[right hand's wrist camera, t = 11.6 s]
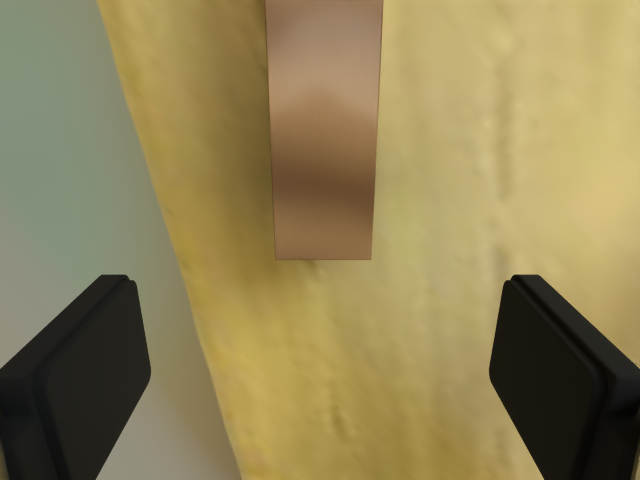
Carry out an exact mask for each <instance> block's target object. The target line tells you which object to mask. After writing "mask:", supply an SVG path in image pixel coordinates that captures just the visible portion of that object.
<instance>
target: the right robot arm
mask: <svg viewBox="0 0 640 480" xmlns="http://www.w3.org/2000/svg"><path fill="white" fill-rule="evenodd" d="M150 376H151V366H150V360H149V355H148V349H147V343H146V337H145V331H144V325H143V319H142V314H141V308H140V302H139V296H138V290H137V285H136V283H135V281H133V280H129V278H128V276H127V275H101V276H99V277H98V278H97V279H96V280H95V281H94V282H93V283H92V284H91V285H90V286H89V287H88V288H87V289H85V290H84V291H83V292H82V293H81V294H80V295H79V296H78V297H77V298H76V299H75V300H74V301H73V302H71V303H70V304H69V305H68V306H67V307H66V308H65V309H64V310H63V311H62V312H61V313H60V314H59V315H58V316H57V317H55V318H54V319H53V320H52V321H51V322H50V323H49V324H48V325H47V326H46V327H45V328H44V329H43V330H42V331H40V332H39V333H38V334H37V335H36V336H35V337H34V338H33V339H32V340H31V341H30V342H29V343H28V344H27V345H26V346H25V347H23V348H22V349H21V350H20V351H19V352H18V353H17V354H16V355H15V356H14V357H13V358H12V359H10V360H9V361H8V362H7V363H6V364H5V365H4V366H3V367H2V368H1V369H0V480H96V478H97V476H98V474H99V472H100V471H101V469H102V467H103V465H104V463H105V461H106V460H107V458H108V456H109V454H110V452H111V450H112V449H113V447H114V445H115V443H116V441H117V440H118V438H119V436H120V434H121V432H122V430H123V429H124V427H125V425H126V423H127V421H128V419H129V418H130V416H131V414H132V412H133V410H134V409H135V407H136V405H137V403H138V401H139V399H140V398H141V396H142V394H143V392H144V390H145V389H146V387H147V385H148V383H149V380H150ZM489 376H490V380H491V383H492V385H493V387H494V389H495V390H496V392H497V394H498V396H499V398H500V399H501V401H502V403H503V405H504V407H505V409H506V410H507V412H508V414H509V416H510V418H511V420H512V421H513V423H514V425H515V427H516V429H517V430H518V432H519V434H520V436H521V438H522V440H523V441H524V443H525V445H526V447H527V449H528V451H529V452H530V454H531V456H532V458H533V460H534V461H535V463H536V465H537V467H538V469H539V471H540V472H541V474H542V476H543V478H544V480H640V369H639V368H638V367H637V366H636V365H635V364H634V363H633V362H632V361H631V360H630V359H628V358H627V357H626V356H625V355H624V354H623V353H622V352H621V351H620V350H619V349H618V348H617V347H616V346H615V345H613V344H612V343H611V342H610V341H609V340H608V339H607V338H606V337H605V336H604V335H603V334H602V333H601V332H600V331H598V330H597V329H596V328H595V327H594V326H593V325H592V324H591V323H590V322H589V321H588V320H587V319H586V318H585V317H583V316H582V315H581V314H580V313H579V312H578V311H577V310H576V309H575V308H574V307H573V306H572V305H571V304H570V303H569V302H567V301H566V300H565V299H564V298H563V297H562V296H561V295H560V294H559V293H558V292H557V291H556V290H555V289H554V288H552V287H551V286H550V285H549V284H548V283H547V282H546V281H545V280H544V279H543V278H542V277H541V276H539V275H513V276H512V278H511V280H506V281H505V283H504V285H503V290H502V296H501V302H500V308H499V314H498V319H497V325H496V331H495V337H494V343H493V349H492V355H491V360H490V366H489Z"/></svg>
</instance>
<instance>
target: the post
mask: <svg viewBox="0 0 640 480" xmlns="http://www.w3.org/2000/svg"><path fill="white" fill-rule="evenodd" d="M382 20H383V0H265V22H266V46H267V71H268V95H269V119H270V143H271V168H272V192H273V216H274V241H275V259H276V260H371V256H372V234H373V213H374V191H375V170H376V149H377V127H378V106H379V84H380V63H381V41H382Z"/></svg>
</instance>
